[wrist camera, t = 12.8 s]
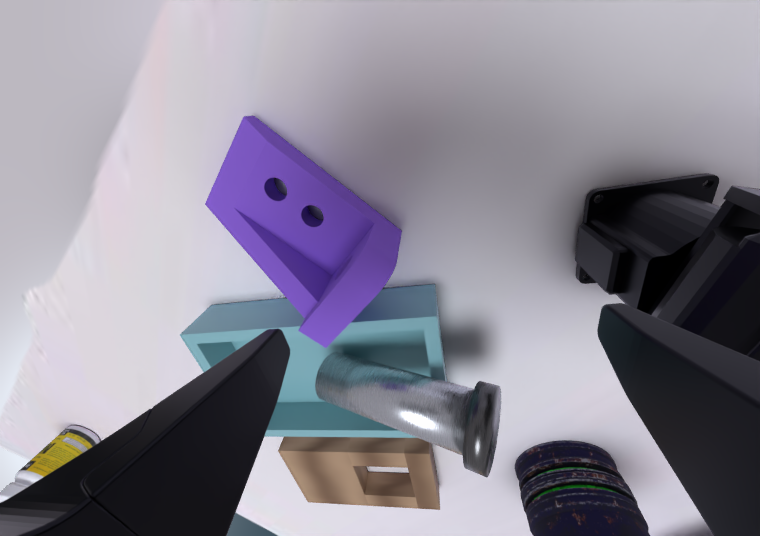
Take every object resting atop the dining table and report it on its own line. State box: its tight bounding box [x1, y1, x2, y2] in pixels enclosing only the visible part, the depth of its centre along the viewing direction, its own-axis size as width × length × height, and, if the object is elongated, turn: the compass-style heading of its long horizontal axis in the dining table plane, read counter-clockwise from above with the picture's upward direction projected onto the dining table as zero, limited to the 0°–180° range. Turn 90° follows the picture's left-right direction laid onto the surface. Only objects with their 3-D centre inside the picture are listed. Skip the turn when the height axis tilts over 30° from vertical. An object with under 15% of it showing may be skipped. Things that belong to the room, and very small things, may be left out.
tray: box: [180, 284, 447, 438], centre depth 26 cm, size 20×13×4 cm, turn 101°
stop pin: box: [315, 352, 501, 477], centre depth 22 cm, size 5×5×13 cm
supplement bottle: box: [0, 426, 100, 503], centre depth 38 cm, size 5×5×8 cm
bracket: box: [205, 116, 402, 348], centre depth 19 cm, size 12×7×7 cm, turn 53°
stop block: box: [278, 437, 440, 510], centre depth 34 cm, size 16×11×2 cm, turn 101°
